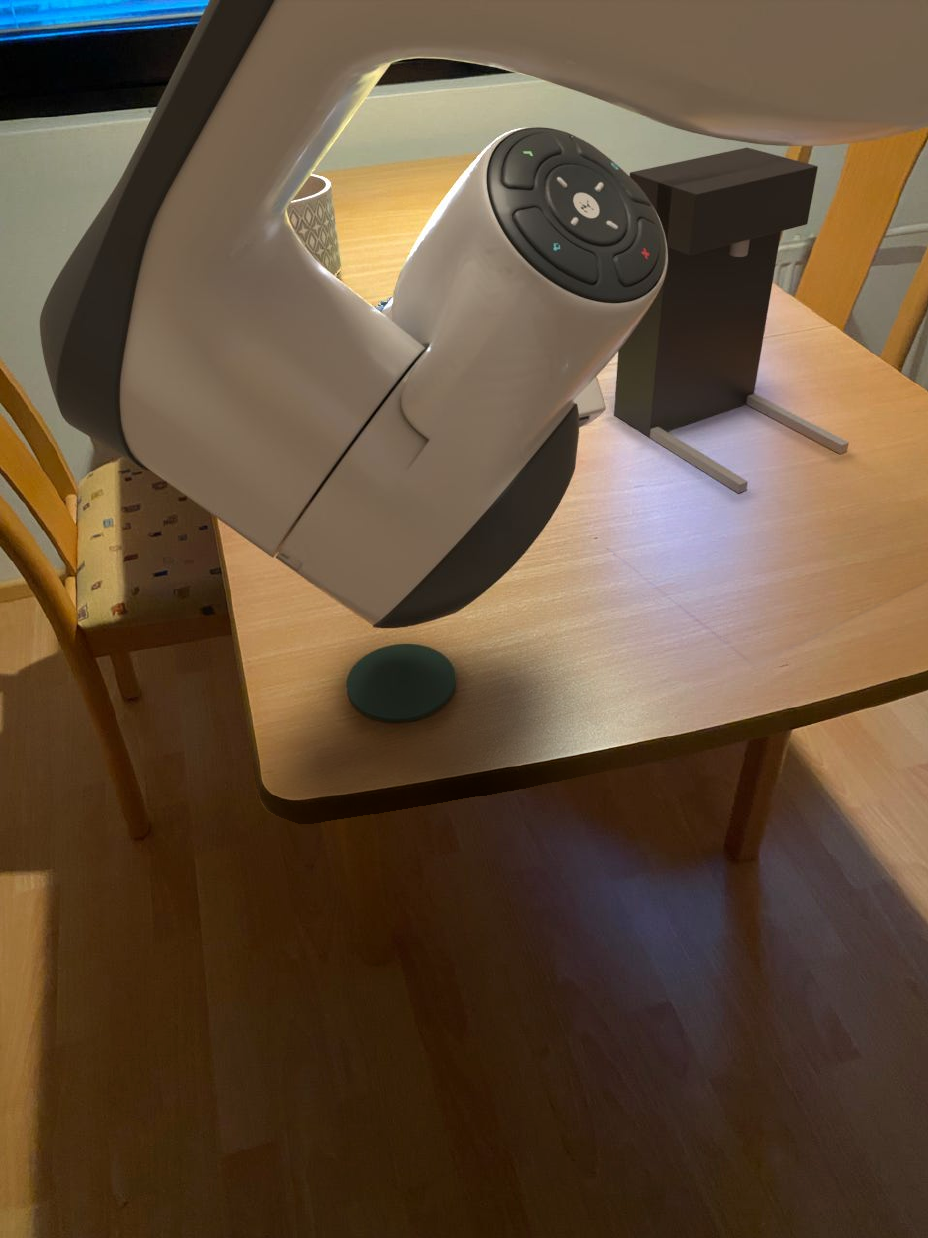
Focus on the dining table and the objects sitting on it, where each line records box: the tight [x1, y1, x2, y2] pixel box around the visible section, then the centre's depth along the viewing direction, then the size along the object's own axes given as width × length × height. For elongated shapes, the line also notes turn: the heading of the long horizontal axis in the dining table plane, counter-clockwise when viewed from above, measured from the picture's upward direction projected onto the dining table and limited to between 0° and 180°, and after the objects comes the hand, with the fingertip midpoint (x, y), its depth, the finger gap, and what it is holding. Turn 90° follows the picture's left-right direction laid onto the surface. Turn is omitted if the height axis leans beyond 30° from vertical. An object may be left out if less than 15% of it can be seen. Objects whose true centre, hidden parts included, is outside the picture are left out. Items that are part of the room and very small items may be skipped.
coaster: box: [345, 643, 457, 723], centre depth 68 cm, size 8×8×1 cm
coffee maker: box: [613, 147, 850, 494], centre depth 87 cm, size 19×14×24 cm
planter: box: [287, 173, 342, 275], centre depth 131 cm, size 16×16×13 cm
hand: (375, 483), depth 58 cm, fingers closed on beverage can, 6 cm apart
